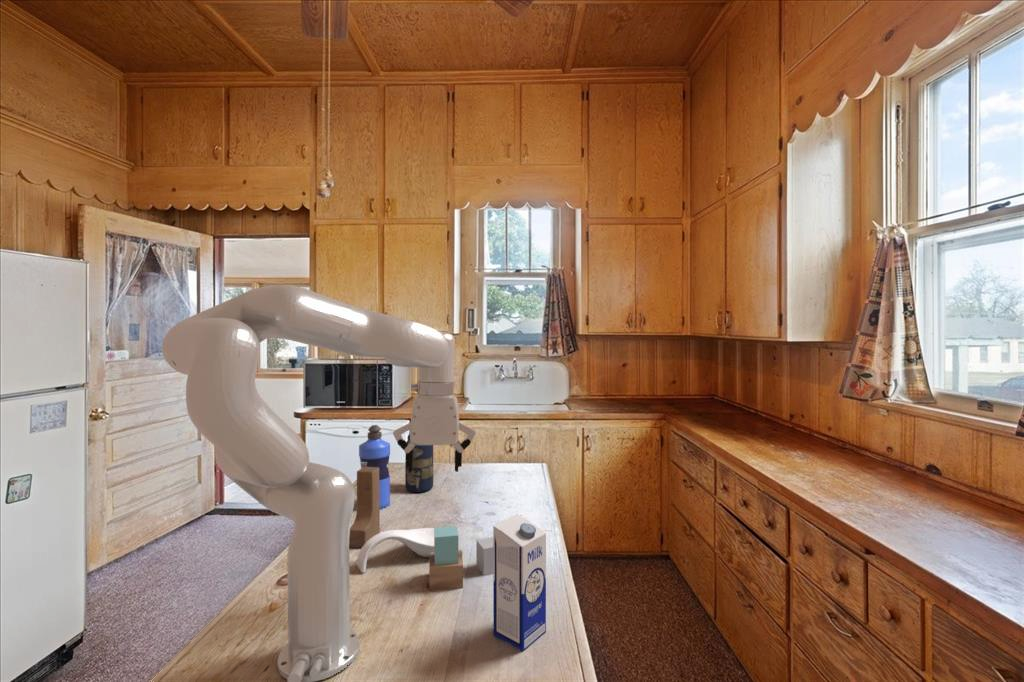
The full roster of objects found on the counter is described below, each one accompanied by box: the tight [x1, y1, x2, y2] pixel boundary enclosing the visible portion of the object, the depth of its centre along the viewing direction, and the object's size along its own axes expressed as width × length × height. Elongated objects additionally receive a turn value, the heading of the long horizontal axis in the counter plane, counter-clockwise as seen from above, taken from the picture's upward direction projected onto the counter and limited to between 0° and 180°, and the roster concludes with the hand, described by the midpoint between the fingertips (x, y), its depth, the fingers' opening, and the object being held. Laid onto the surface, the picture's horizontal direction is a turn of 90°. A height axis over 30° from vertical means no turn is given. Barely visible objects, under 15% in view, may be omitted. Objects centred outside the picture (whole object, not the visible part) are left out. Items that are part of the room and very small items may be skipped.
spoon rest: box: [356, 527, 435, 574], centre depth 112 cm, size 24×12×7 cm, turn 123°
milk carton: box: [492, 513, 547, 652], centre depth 84 cm, size 7×7×20 cm
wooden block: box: [349, 467, 381, 549], centre depth 121 cm, size 9×4×18 cm, turn 172°
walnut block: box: [428, 549, 464, 592], centre depth 102 cm, size 7×7×5 cm
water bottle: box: [358, 424, 391, 510], centre depth 146 cm, size 9×9×25 cm
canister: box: [404, 439, 434, 493], centre depth 161 cm, size 10×10×18 cm
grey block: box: [475, 536, 493, 576], centre depth 107 cm, size 5×5×6 cm
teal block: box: [433, 525, 459, 566], centre depth 102 cm, size 5×5×6 cm
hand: (433, 470), depth 100 cm, fingers open, 9 cm apart
